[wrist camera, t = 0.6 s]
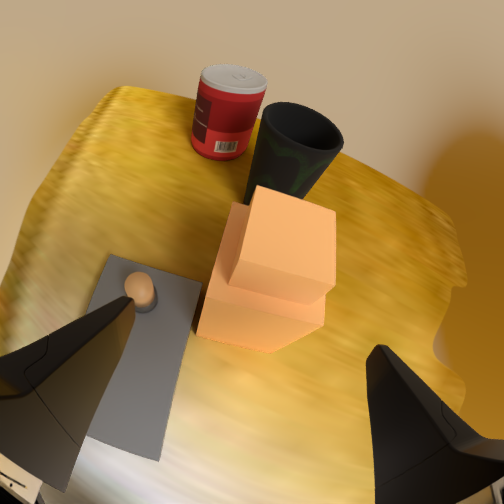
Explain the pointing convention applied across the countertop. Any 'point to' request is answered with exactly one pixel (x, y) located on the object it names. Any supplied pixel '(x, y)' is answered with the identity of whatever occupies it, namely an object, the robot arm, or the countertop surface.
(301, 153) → the cup
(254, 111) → the canned food
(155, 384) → the board
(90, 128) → the countertop surface
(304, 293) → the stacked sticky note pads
